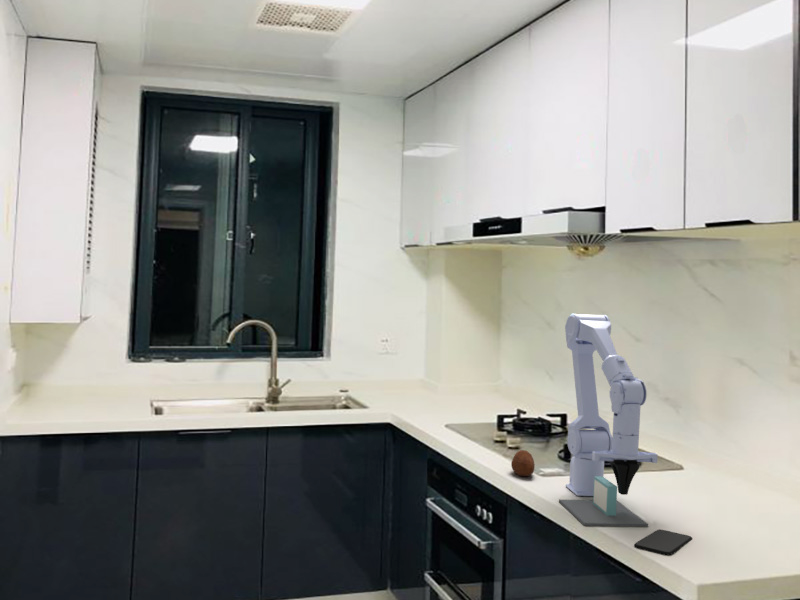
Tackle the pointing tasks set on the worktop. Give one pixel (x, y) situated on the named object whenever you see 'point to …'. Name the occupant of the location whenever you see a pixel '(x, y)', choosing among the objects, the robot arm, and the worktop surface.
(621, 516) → the mat
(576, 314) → the robot arm
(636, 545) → the smartphone
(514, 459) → the potato
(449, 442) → the worktop surface
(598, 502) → the block
